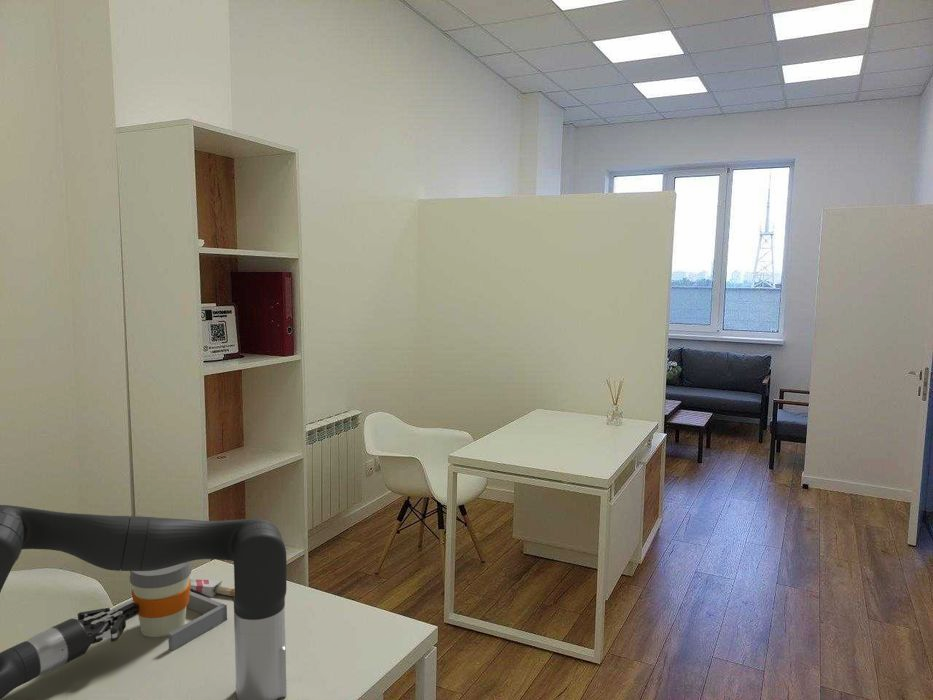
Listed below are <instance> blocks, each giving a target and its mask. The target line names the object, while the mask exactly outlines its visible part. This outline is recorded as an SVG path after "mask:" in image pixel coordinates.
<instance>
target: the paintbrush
mask: <svg viewBox="0 0 933 700" xmlns="http://www.w3.org/2000/svg"><path fill="white" fill-rule="evenodd" d="M189 579H190V578H189ZM190 581H191V587H190V590H193V591H195V592H197V593H199V594H202V595H205V596H206V597H207V596H208V598H214V597H215V596H216V595H218V594H221V595H224V596H230V597H233V598H234V596H235V588H234V587H233V588H232V587H228V586H224V585H222V582H223V580H222V579H219V580H218V579H196V578H195V579H190Z"/></svg>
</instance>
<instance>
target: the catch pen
mask: <svg viewBox="0 0 933 700" xmlns="http://www.w3.org/2000/svg"><path fill="white" fill-rule="evenodd" d="M131 603H134V602H133V598H132V599H130V600H128V601H126V602H124V603H122V604H120V605H118V606H115V607H113V608H112V609H111V610H113V609H120V608H122V607H124V606H127V605H129V604H131ZM187 608H188V609H190V610H193V611H195V612H197V613H200V614H202V615H200V616H198V617H196V618H194V619H192V620H191V621H189V622H187V623H185V624H184V625H183V626H181V627H180V628H178V629H176V630H174V631H172V632H170V633H169V634H168V635H167V636H168V638H167V639H168V649H169V650H170V651H172V652H173V651H174V650H177V649H179V647H181V646H183V645H185V644H187V643H188V642H190V641H192V640H194V639H196V638H198V637H199V636H201V635H202V634H204V633H206V632H209V631H210V630H211V629H214V628H215V627H217V626H218V625H221V624H222V623H224V622H225V621H227V620H228V606H227V604H224V603H221V602H219V601H216V600H214V599H213V598H212V599H211V598H210V597H207V596H204V595H201V594H200V593H199V594H198V593H196V592H192V591H191V590H190V597H189V603H188V605H187V607H186V609H187ZM135 616H138V614H136V615H135ZM135 616H133V617H134V618H135ZM133 617H132V618H133Z"/></svg>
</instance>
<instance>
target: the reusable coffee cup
mask: <svg viewBox="0 0 933 700" xmlns="http://www.w3.org/2000/svg"><path fill="white" fill-rule="evenodd" d="M129 572H130V573H129V582H130V584H131V586H132V590H131V595H132V596H131V597H132V599H133V602H134V603H135V604H138V605H139V613H138V615H137V616H138V621H139V625H140V631H141V634H142V635H144V636H146V637H148V638H162V637H167V636H168V634H169V633H170V632H172V631H174V630H176V629H178V628H180V627H181V626H183V625H185V624H186V615H187V605H188V603H189V597H190V591H191V589H190V587H191V581H190V577H191V576H190V575H191V574H192V563H191V561H189V562H185V563H182V564H178V565H175V566H171V567H167V568H164V569H159V570H153V571H129Z"/></svg>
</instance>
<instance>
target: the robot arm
mask: <svg viewBox="0 0 933 700" xmlns="http://www.w3.org/2000/svg"><path fill="white" fill-rule="evenodd" d="M286 549H287V548H286V545H285V543H284V540H283V537H282V534H281V533H280V530H279V528H278V527H277V526H276V525H275V524H274V523H272V522H271V521H268V520H266V519H262V518H245V519H241V518H240V519H226V520H201V519H200V520H198V519H197V520H196V519H186V518H185V519H184V518H168V517H167V518H166V517H156V516H140V515H139V516H136V515H106V514H103V515H102V514H91V513H90V514H88V513H77V512H76V513H74V512H63V511H61V512H60V511H54V510H46V509H39V508H33V507H25V506H18V505H9V504H0V593H1V592H2V589H3V588H4V586H5V585H4V584H5V583H6V581H7V580H8V576H9V574H10V572H11V571H12V568H13V567H14V565H15V563H16V562H17V561H18V560H19V558H20V555H21V553H22V550H47V551H48V550H49V551H57V552H62V553H65V554H68V555H70V556H73V557H76V558H78V559H79V560H82V561H84V562H85V563H88V564H90V565H93V566H95V567H97V568H101V569H104V570H108V571H115V572H116V571H121V572H130V571H153V570H159V569H164V568H167V567H171V566H175V565H178V564H182V563H185V562H189V561H190V562H192V561H193V562H194V561H198V560H200V561H201V560H220V561H231V562H233V580H234V582H233V583H234V584H233V585H234V587H233V588H234V589H235V596H234V597H233V622H234V626H233V627H234V656H235V657H234V658H235V659H234V663H235V666H234V667H235V690H236V692H235V693H236V699H237V700H278V699H280V698H285V697H287V657H286V656H287V654H286V653H287V652H286V650H287V649H286V648H287V647H286V642H287V641H286V608H285V607H286V594H287V580H288V579H287V575H288V574H287V573H288V572H287V571H288V570H287V562H288V561H287V550H286ZM112 609H113V608H112ZM112 609H111V608H110V607H106V608H105V607H104V608H98V609H93V610H87V611H80V612H78V613H77V619H76V618H69V619H67V620H65V621H62V622H60V623H58V624H55V625H53V626H52V627H49V628H47V629H45V630H42V631H40V632H39V633H37V634H35V635H33V636H31V637H30V638H28V639H26V640H24V641H22V642H20V643H18V644H15V645H14V646H10V648H7V649H5V650H3V651H1V652H0V700H2V699H3V698H5V697H6V696H7V695H8V694H10V693H11V692H12V691H14V690H15V689H16V688H19V687H20V686H22V685H24V684H26V683H28V682H31V681H32V680H34V679H35V678H38V677H40V676H43V675H45V674H48V673H51V672H53V671H55V670H56V669H59V668H60V667H62V666H64V665H66V664H68V663H70V662H72V661H73V660H75V659H78V658H79V657H81V656H83V655H85V654H86V653H87V651H88V649H89V648H90V647H91V645H93V644H97V643H100V642H102V641H103V640H104V639H110V641H111V642H112V643H114V642H117V641H118V640H119V639H120V637H121V635H122V634H123V632H124V630H125V629H126V627H127V623H126V621H127V620H129V619H132V618H133V616H134V617H135V615H136V614H138V613H139V605H138V604H135V603H131V604H129V605H127V606H124V607H122V608H120V609H113V610H112ZM136 616H137V615H136Z"/></svg>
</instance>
